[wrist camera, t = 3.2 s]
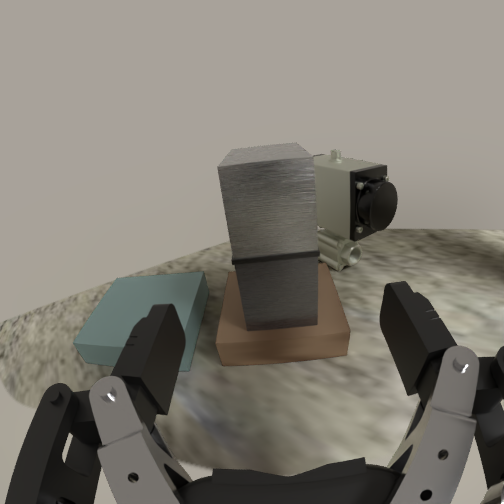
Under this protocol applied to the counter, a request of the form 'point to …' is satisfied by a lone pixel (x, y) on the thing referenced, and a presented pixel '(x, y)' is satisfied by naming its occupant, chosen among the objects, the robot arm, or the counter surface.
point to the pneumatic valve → (350, 205)
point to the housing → (273, 233)
